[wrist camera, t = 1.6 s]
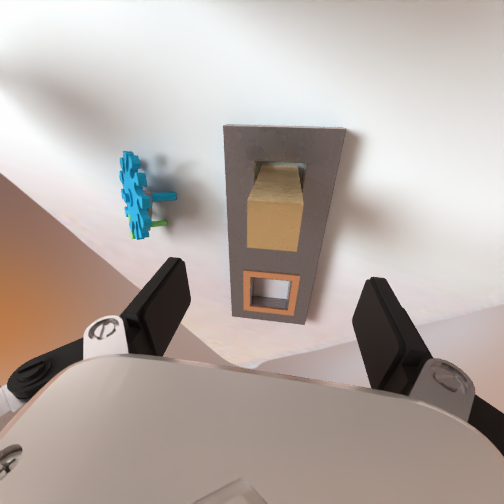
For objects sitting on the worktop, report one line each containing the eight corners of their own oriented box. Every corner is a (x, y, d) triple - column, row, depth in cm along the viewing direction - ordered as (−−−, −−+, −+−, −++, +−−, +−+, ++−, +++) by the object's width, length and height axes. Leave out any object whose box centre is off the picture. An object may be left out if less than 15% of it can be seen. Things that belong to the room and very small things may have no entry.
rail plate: (227, 124, 24) (222, 125, 23) (341, 127, 23) (346, 129, 21) (234, 307, 40) (231, 317, 38) (303, 315, 38) (304, 325, 37)
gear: (111, 133, 25) (137, 185, 20) (165, 139, 29) (198, 185, 24) (116, 211, 32) (136, 263, 28) (158, 209, 36) (182, 254, 31)
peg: (262, 164, 26) (247, 200, 16) (297, 166, 26) (303, 203, 16) (261, 198, 28) (247, 247, 18) (293, 200, 28) (296, 251, 18)
